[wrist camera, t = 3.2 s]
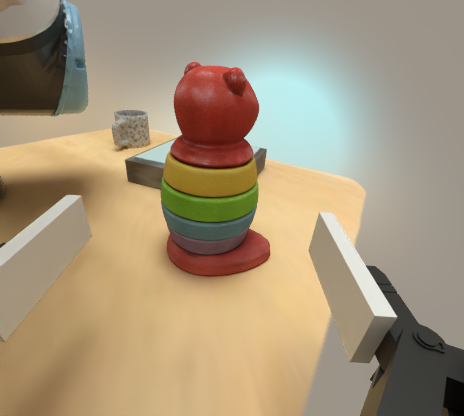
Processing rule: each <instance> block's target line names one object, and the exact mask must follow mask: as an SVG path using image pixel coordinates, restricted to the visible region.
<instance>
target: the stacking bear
mask: <svg viewBox="0 0 464 416" xmlns="http://www.w3.org/2000/svg"><path fill="white" fill-rule="evenodd" d="M174 109H175V114H176V119H177V123H178V125H179V128H180V130H181V132H182V134H183V135H181V136H179V137H178V138H177V139H176V140H175V141H174V143H173V144H172V146H171V149H170V151H169V152H168V154H167V156H166V160H165V165H164V172H163V177H162V183H161V204H162V209H163V214H164V217H165V220H166V222H167V226H168V229H169V232H170V235H169V237H168V242H167V252H168V255H169V257H170V259H171V260H172V261H173V262H174V263H175V264H176V265H177V266H179V267H180V268H182V269H184V270H186V271H188V272H191V273H195V274H200V275H222V274H231V273H236V272H240V271H244V270H247V269H250V268H252V267H255V266H257V265H259V264H260V263H262V262H264V261H265V260H266V259H267V258H268V257H269V256H270V244H269V241H268V240H267V239H266V238H264V237H263V236H262V235H260V234H259V233H257V232H255V231H253V230H251V229H249V227H250V225H251V223H252V220H253V218H254V215H255V211H256V208H257V202H258V181H257V168H256V162H255V158H254V156H253V154H254V152H253V149H252V147H251V146H250V144H249V143H248V142H247V141H246V140H245V139H244V137H245V136H246V135H247V134H248V133H249V132H250V130H251V129H252V127H253V125H254V123H255V121H256V119H257V117H258V113H259V104H258V100H257V98H256V95H255V93H254V91H253V89H252V87H251V85H250V83H249V82H248V81H247V79H246V78H245V76H244V74H243V72H242V70H241V69H239V68H237V67H235V68H228V67H221V66H201V65H200V64H199V63H198V62H192V63H190V64H188V65H187V67H186V69H185V72H184V76H183V77H182V79H181V80H180V82H179V83H178V85H177V88H176V91H175V95H174Z"/></svg>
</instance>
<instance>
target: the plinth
mask: <svg viewBox="0 0 464 416" xmlns="http://www.w3.org/2000/svg"><path fill="white" fill-rule="evenodd" d="M176 139H177V138H175V139H173V140H170V141H168V142H166V143H163V144H161V145H159V146H156V147H154V148H152V149H149V150H147V151H144V152H142V153H140V154H137V155H135V156H133V157H130V158H128V159H126V160H125V163H126V170H127V176H128V181H130V182H134V183H138V184H142V185H146V186H150V187H154V188H158V189H161V183H162V177H163V172H164V165H165V160H166V156H167V154H168V152H169V151H170V149H171V146H172V144H173V143H174V141H175V140H176ZM251 147H252V149H253V152H254V154H253V156H254V158H255V162H256V168H257V175H258V174H259V173H260V172H261V170H262V169H263V168H264V165H265V158H266V149H263V148H260V147H254V146H251Z"/></svg>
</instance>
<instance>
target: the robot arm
mask: <svg viewBox="0 0 464 416" xmlns="http://www.w3.org/2000/svg"><path fill="white" fill-rule="evenodd" d="M87 85H88V84H87V73H86V66H85V52H84V42H83V33H82V26H81V20H80V14H79V10H78V8H77V7H76V6H75V5H73V4H71V3H68V2H67V1H65V0H0V115H31V116H32V115H34V116H35V115H36V116H38V115H40V116H44V115H45V116H58V115H59V114H73V113H81V112H83V111H84V110H85V109H86V107H87V105H88V86H87ZM5 191H6V188H5V186H4V183H3V181H2V179H1V176H0V199H1V198H2V197H3V195H4V194H5ZM91 237H92V235H91V231H90V227H89V223H88V219H87V216H86V212H85V208H84V204H83V200H82V196H79V195H66V196H65V197H64V198H62V199H61V200H60V201H59V202H57V203H56V204H55V205H54V206H52V207H51V208H50V209H49V210H47V211H46V212H45V213H44V214H42V215H41V216H40V217H39V218H37V219H36V220H35V221H34V222H32V223H31V224H30V225H29V226H27V227H26V228H25V229H24V230H22V231H21V232H20V233H19V234H17V235H16V236H15V237H14V238H12V239H11V240H10V241H9V242H7V243H2V244H0V342H6V340H7V339H8V338H9V337H10V335H11V334H12V333H13V332H14V331H15V329H16V328H17V327H18V326H19V324H20V323H21V322H22V321H23V320H24V318H25V317H26V316H27V315H28V314H29V312H30V311H31V310H32V309H33V307H34V306H35V305H36V304H37V303H38V301H39V300H40V299H41V298H42V296H43V295H44V294H45V293H46V292H47V290H48V289H49V288H50V287H51V285H52V284H53V283H54V282H55V281H56V279H57V278H58V277H59V276H60V275H61V273H62V272H63V271H64V270H65V268H66V267H67V266H68V265H69V264H70V262H71V261H72V260H73V259H74V257H75V256H76V255H77V254H78V253H79V251H80V250H81V249H82V248H83V247H84V245H85V244H86V243H87V242H88V240H89V239H90V238H91ZM309 253H310V256H311V259H312V261H313V264H314V267H315V270H316V272H317V275H318V278H319V280H320V283H321V286H322V289H323V291H324V294H325V297H326V299H327V302H328V305H329V307H330V310H331V313H332V316H333V318H334V321H335V324H336V326H337V329H338V332H339V334H340V337H341V340H342V342H343V345H344V348H345V351H346V353H347V356H348V358H349V361H350V362H358V363H370V361H371V360H372V358H373V356H374V355H376V357H377V360H378V362H379V364H380V365H379V367H378V368H377V370H376V371H375V373H374V374H373V376H372V377H371V379H370V380H371V381H372V384H371V387H370V389H369V392H368V395H367V398H366V400H365V403H364V406H363V409H362V411H361V415H360V416H464V350H462V349H459V348H456V347H453V346H450V345H447V344H445V342H444V340H443V339H442V338H441V337H440V336H439V335H438V334H437V333H435V332H433V331H432V330H431V329H429V328H428V327H425V326H422V325H420V324H419V323H418V322H417V321H416V319H415V318H414V316H413V315H412V313H411V312H410V310H409V309H408V307H407V306H406V305H405V303H404V302H403V300H402V299H401V297H400V296H399V294H397V291H396V290H395V289H394V287H393V286H391V283H390V281H389V280H388V279H387V277H386V275H385V274H384V273H383V272H381V271H380V270H379V269H378V268H377V267H375V266H365V264H364V262H363V261H362V260H361V257H360V256H359V254H358V253H357V251H356V249H355V248H354V246H353V245H352V243H351V241H350V240H349V238H348V236H347V235H346V233H345V232H344V230H343V228H342V227H341V225H340V224H339V222H338V220H337V219H336V217H335V215H334V214H333V213H325V212H319V215H318V219H317V222H316V226H315V229H314V233H313V236H312V240H311V243H310V247H309Z"/></svg>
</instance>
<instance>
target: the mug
mask: <svg viewBox="0 0 464 416" xmlns="http://www.w3.org/2000/svg"><path fill="white" fill-rule="evenodd" d="M114 116H115V123H114V124H113V125H112V133H113V139H114V142H115V145H117V146H122V147H126V148H141V147H145V146H148V145H149V144H150V138H149V128H148V118H147V112H144V111H137V110H122V111H117V112H114Z"/></svg>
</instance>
